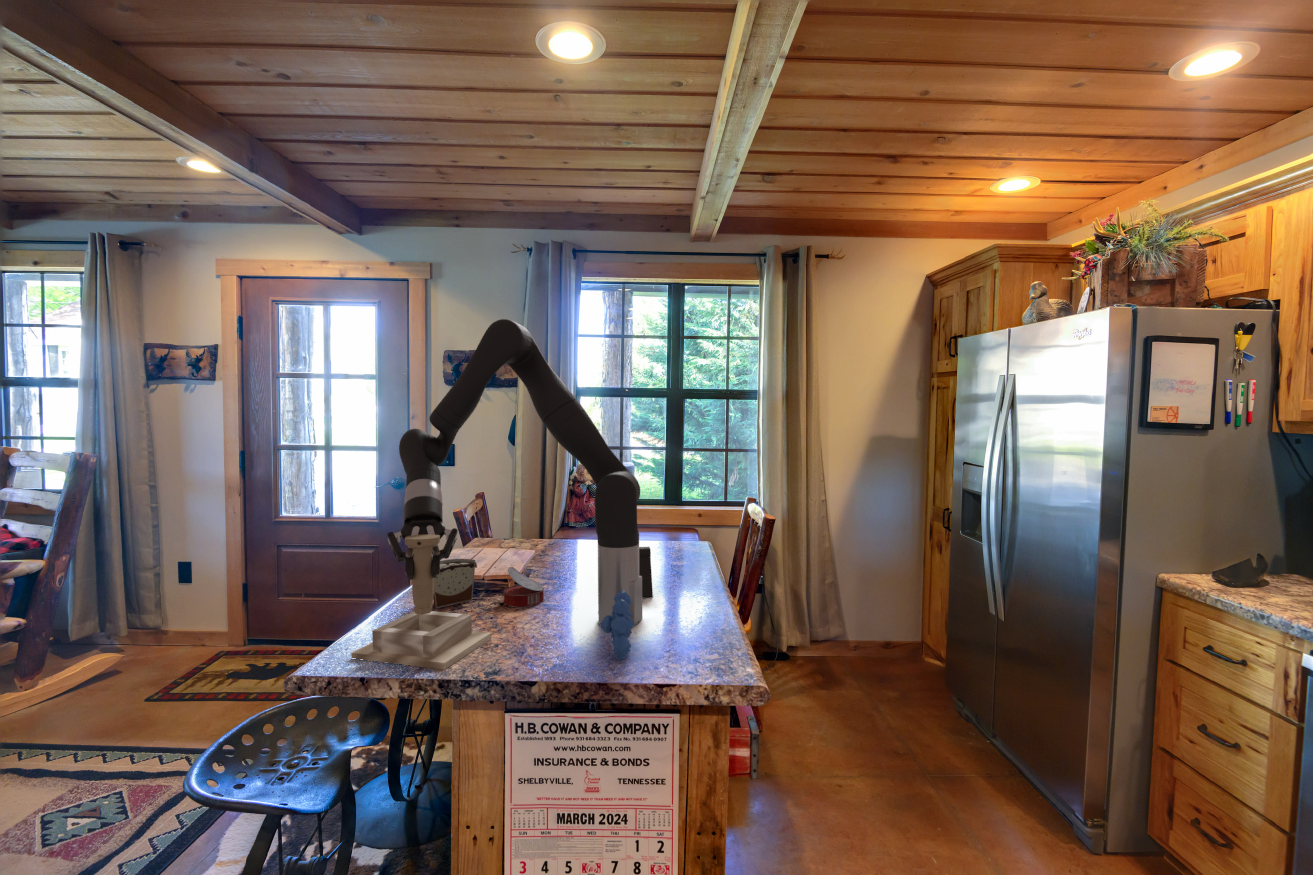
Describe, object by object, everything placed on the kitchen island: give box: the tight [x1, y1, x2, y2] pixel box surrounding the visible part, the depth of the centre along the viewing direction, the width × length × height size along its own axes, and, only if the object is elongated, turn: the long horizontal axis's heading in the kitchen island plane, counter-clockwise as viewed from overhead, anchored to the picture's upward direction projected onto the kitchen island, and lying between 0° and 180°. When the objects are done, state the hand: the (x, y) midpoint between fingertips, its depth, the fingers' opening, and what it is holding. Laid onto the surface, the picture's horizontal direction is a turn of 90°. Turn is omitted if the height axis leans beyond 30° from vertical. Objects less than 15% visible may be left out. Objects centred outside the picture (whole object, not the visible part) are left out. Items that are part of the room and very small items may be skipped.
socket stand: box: [350, 610, 492, 671], centre depth 118 cm, size 20×16×5 cm
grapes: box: [599, 590, 636, 661], centre depth 114 cm, size 12×7×12 cm, turn 179°
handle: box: [404, 534, 441, 615], centre depth 118 cm, size 5×6×15 cm
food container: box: [433, 558, 478, 609], centre depth 149 cm, size 12×6×10 cm, turn 135°
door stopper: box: [639, 546, 654, 598], centre depth 156 cm, size 9×6×12 cm, turn 10°
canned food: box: [503, 566, 545, 608], centre depth 150 cm, size 11×10×10 cm
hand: (422, 576), depth 116 cm, fingers closed on handle, 3 cm apart
